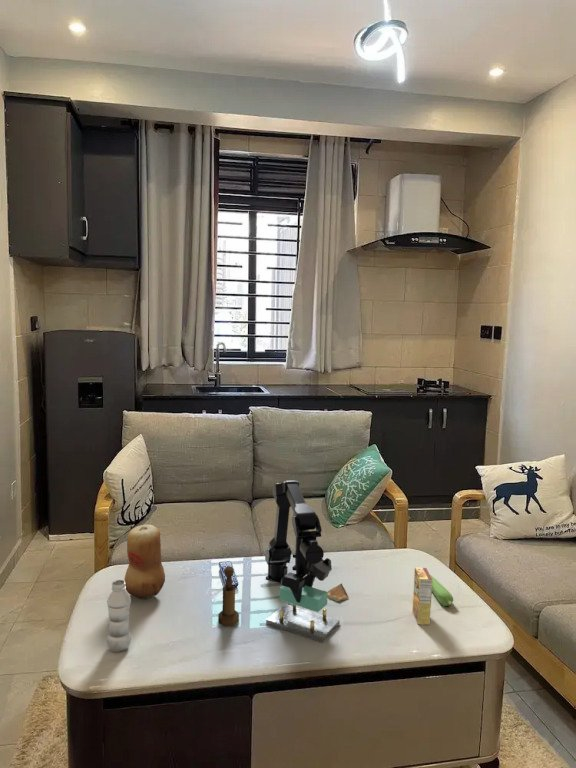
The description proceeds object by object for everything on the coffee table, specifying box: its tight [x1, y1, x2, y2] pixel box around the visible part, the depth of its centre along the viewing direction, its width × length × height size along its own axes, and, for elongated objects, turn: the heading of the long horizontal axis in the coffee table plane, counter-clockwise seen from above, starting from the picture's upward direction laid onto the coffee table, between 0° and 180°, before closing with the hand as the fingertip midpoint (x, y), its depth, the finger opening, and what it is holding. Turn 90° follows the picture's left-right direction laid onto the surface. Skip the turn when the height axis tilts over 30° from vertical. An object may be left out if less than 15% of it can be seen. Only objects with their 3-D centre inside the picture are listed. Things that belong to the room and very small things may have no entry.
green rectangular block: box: [279, 585, 328, 613], centre depth 179 cm, size 14×6×4 cm, turn 58°
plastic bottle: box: [106, 579, 132, 653], centre depth 164 cm, size 6×7×20 cm
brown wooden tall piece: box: [217, 566, 240, 627], centre depth 180 cm, size 7×6×18 cm
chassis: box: [265, 603, 340, 643], centre depth 180 cm, size 20×12×4 cm, turn 60°
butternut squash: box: [124, 524, 166, 600], centre depth 195 cm, size 14×13×25 cm
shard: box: [327, 583, 349, 602], centre depth 201 cm, size 11×8×2 cm
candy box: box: [412, 567, 433, 626], centre depth 185 cm, size 9×4×15 cm, turn 0°
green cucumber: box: [430, 574, 454, 607], centre depth 201 cm, size 5×20×5 cm
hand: (303, 598), depth 179 cm, fingers closed on green rectangular block, 6 cm apart
